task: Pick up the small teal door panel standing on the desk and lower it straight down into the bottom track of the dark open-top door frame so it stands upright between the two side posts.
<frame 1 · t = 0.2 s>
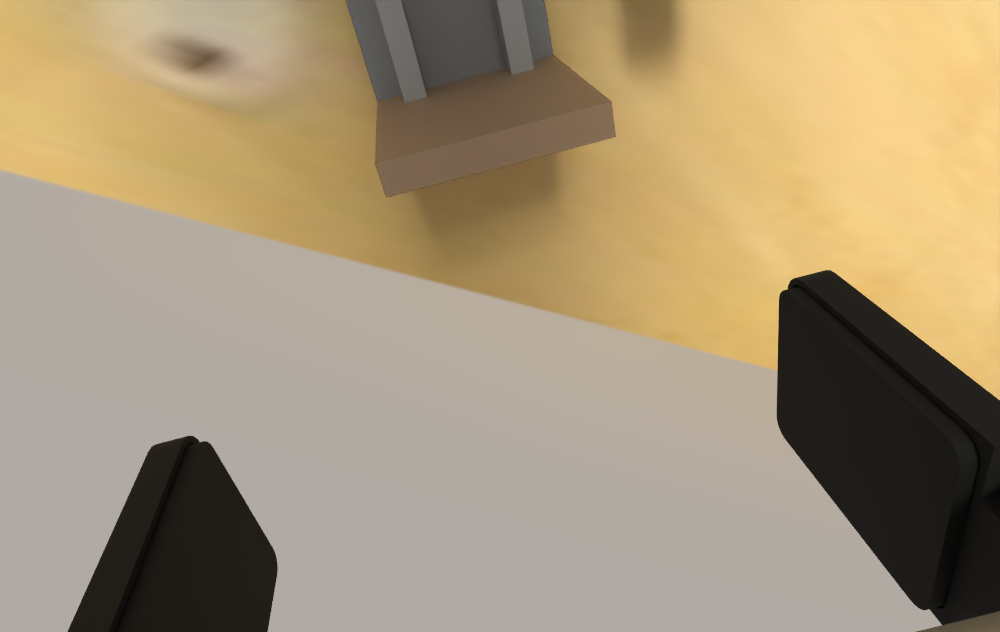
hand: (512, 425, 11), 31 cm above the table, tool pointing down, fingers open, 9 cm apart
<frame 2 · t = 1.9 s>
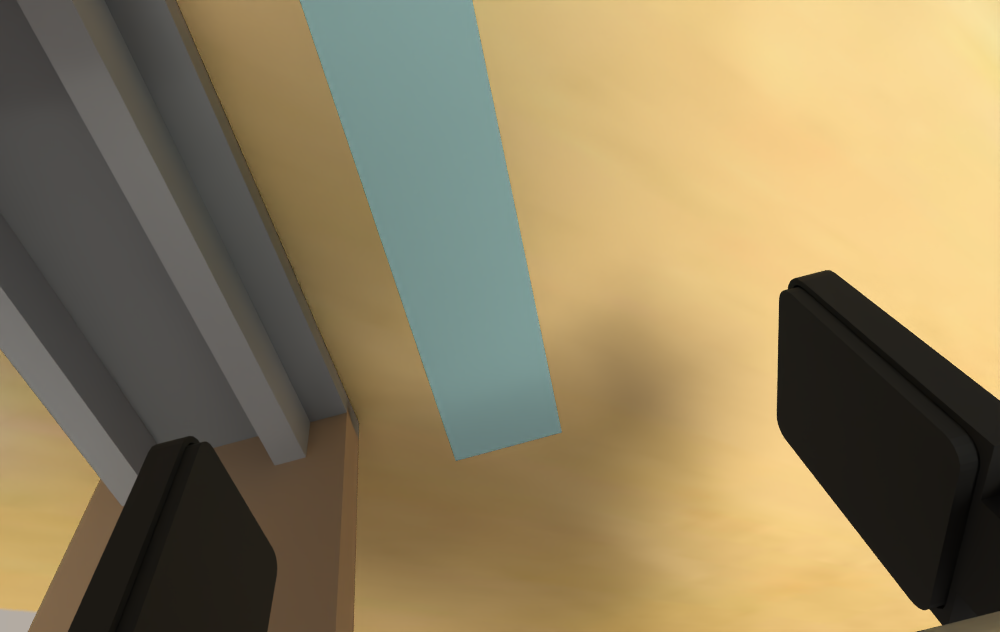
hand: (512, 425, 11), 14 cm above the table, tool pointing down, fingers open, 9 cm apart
door frame: (108, 221, 22), on the table
door panel: (429, 138, 22), on the table
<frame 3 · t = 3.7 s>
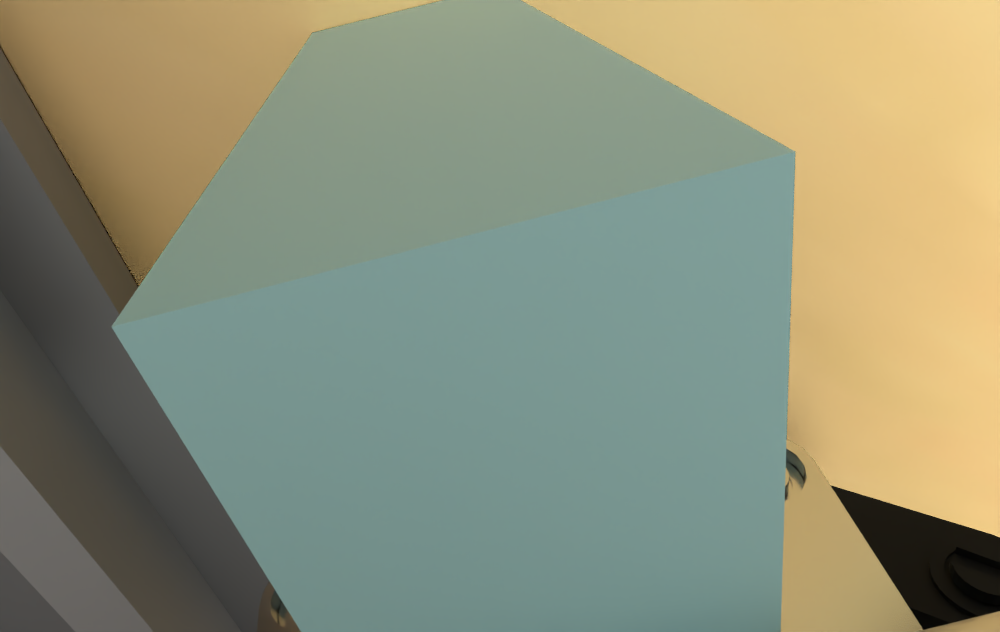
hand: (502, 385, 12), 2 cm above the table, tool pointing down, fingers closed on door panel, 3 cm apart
door panel: (486, 321, 14), on the table, touching gripper
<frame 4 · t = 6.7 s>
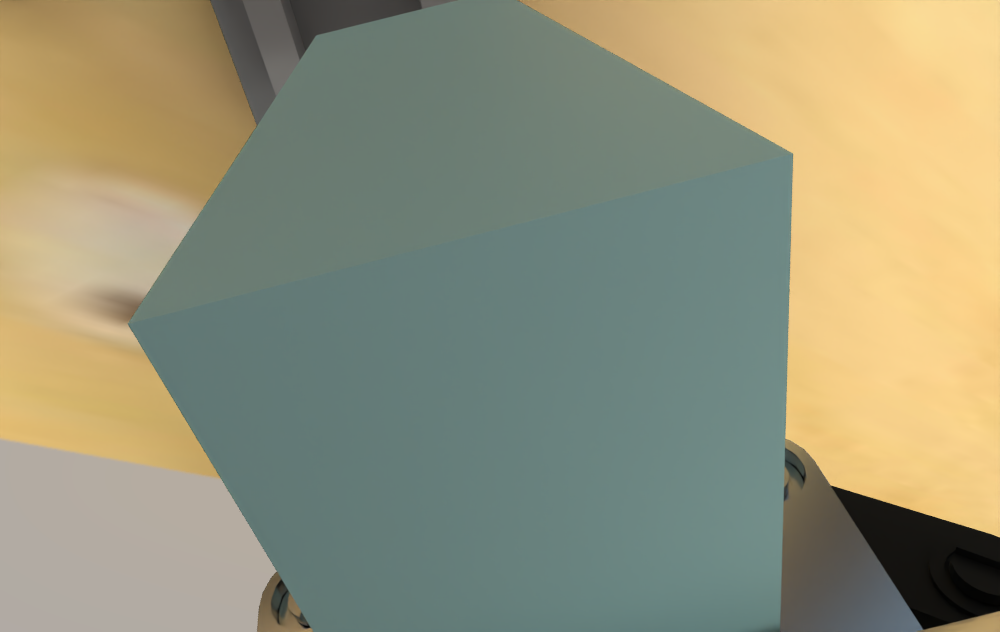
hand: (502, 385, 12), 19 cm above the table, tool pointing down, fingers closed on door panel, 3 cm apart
door frame: (392, 132, 28), on the table
door panel: (487, 322, 14), point 17 cm above the table, touching gripper
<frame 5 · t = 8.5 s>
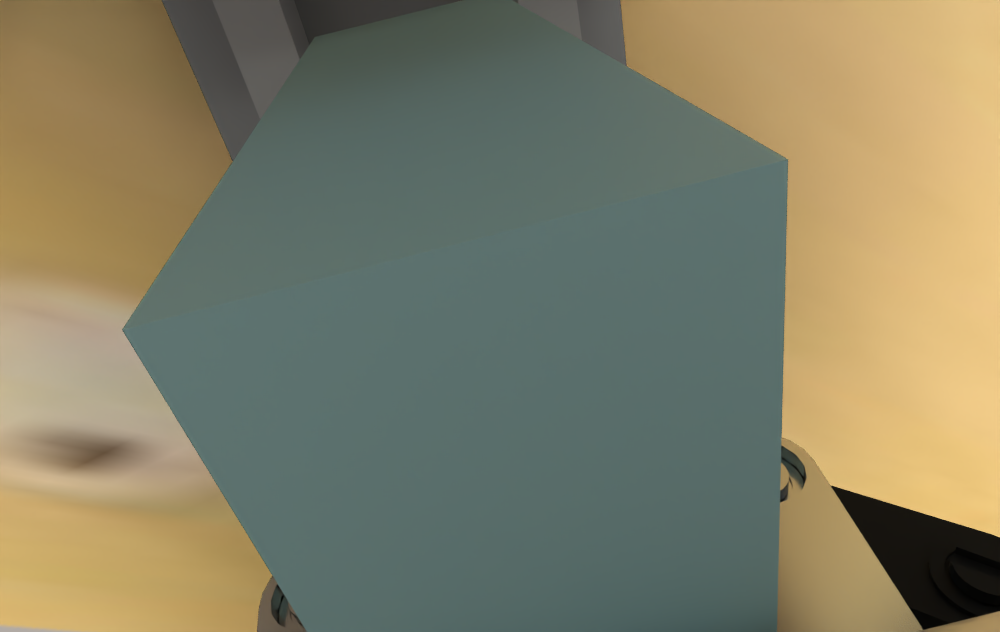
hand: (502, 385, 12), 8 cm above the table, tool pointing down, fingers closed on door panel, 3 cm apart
door frame: (453, 199, 19), on the table
door panel: (486, 323, 14), point 6 cm above the table, touching gripper
when the fingers open (4 cm above the table, at t = 9.9 s): door panel stays where it is, resting on door frame.
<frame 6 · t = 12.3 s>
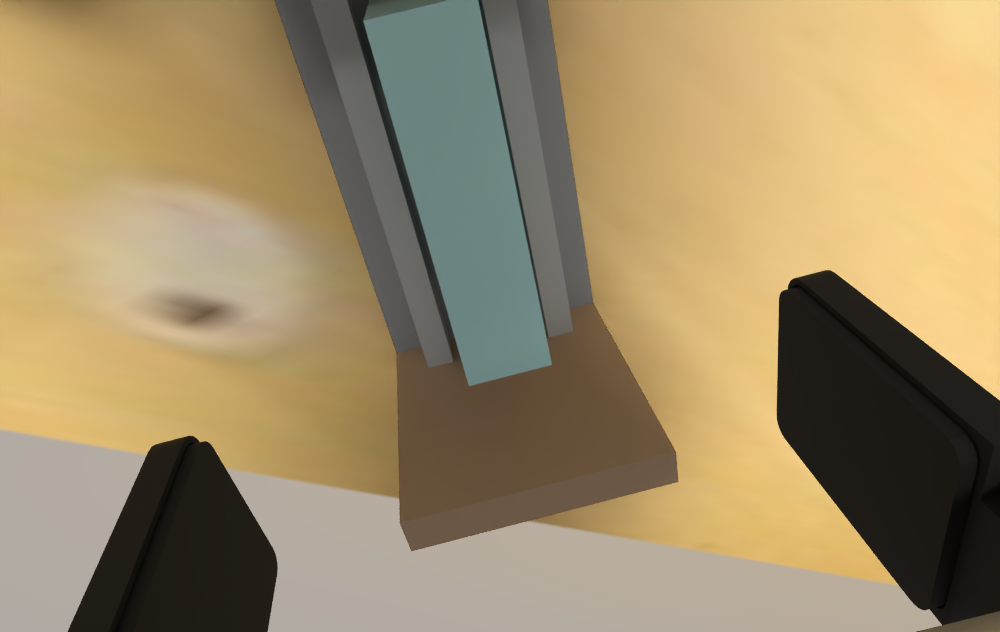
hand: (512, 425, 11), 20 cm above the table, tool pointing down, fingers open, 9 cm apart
door frame: (447, 135, 29), on the table
door panel: (449, 140, 28), point 1 cm above the table, touching door frame
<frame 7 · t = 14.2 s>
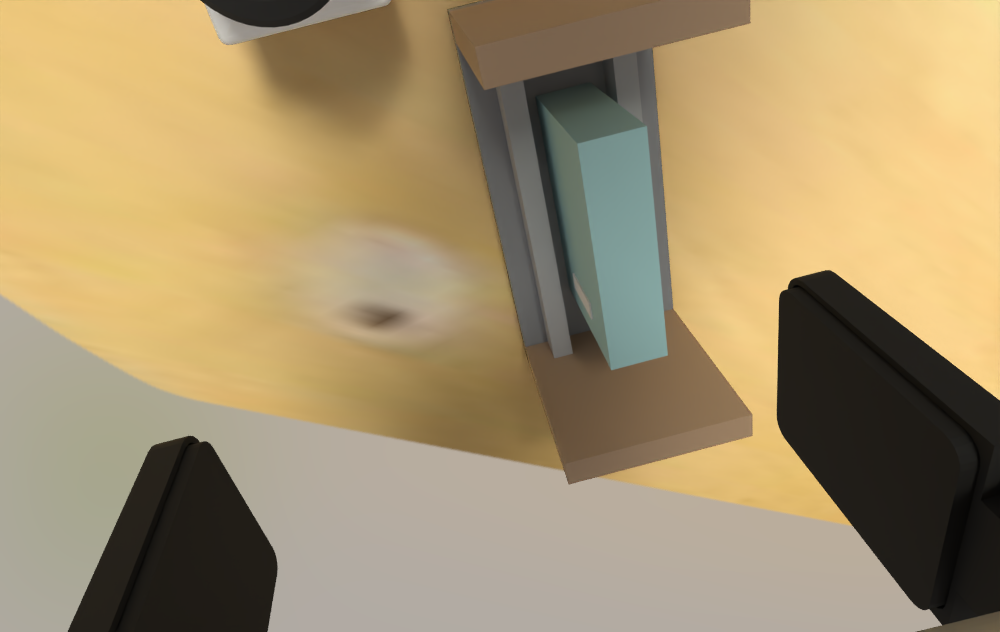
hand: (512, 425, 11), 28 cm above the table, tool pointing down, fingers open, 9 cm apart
door frame: (574, 187, 39), on the table
door panel: (578, 193, 38), point 1 cm above the table, touching door frame
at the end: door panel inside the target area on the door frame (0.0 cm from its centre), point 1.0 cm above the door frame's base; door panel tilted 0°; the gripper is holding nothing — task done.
